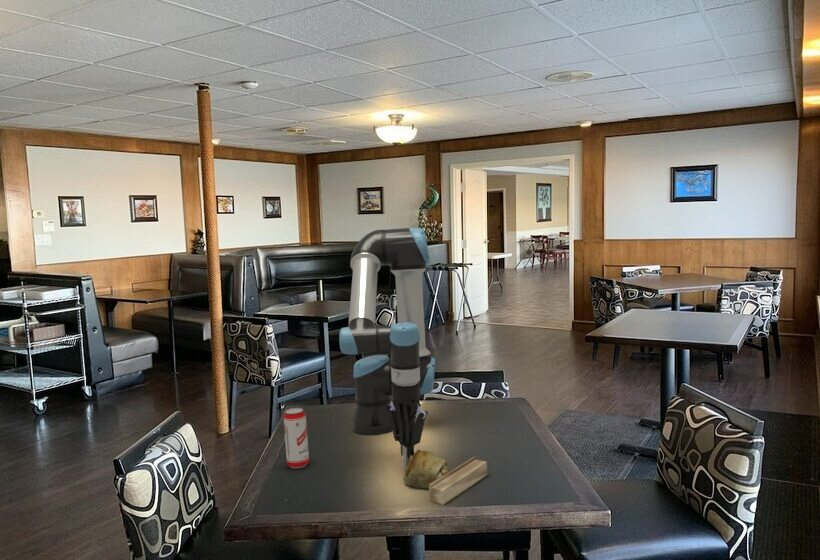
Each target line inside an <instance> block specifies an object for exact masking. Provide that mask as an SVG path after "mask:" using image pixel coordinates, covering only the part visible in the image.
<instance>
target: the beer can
mask: <svg viewBox="0 0 820 560" xmlns="http://www.w3.org/2000/svg"><path fill="white" fill-rule="evenodd" d="M283 428H284V441H285V442H284V443H285V454H286V457H285V458H286V464H287V466H288V467H290V468H291V469H295V470H296V469H297V470H298V469H303V468H305V467H307V465H308V464H309V462H310V452H309V441H308V440H309V439H308V426H307V414H306V413H305V411H304V409H303V407H291V408H287V409H285V411H284V415H283Z"/></svg>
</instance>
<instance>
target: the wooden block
mask: <svg viewBox="0 0 820 560" xmlns="http://www.w3.org/2000/svg"><path fill="white" fill-rule="evenodd" d="M486 476H488V462H487V461H484V460H480V459H476V456H473V457H471V458H469V459H468V460H466V461H465V462H463V463H461V464H460V465H458V466H456V467H455V468H453V469H452V470H450V472H448V473H447V474H445V475H444V476H442V477H440V478H439V479H437V480H436V481H434V482H432V483H431V484H429V489H428V495H429V502H432V503H435V504H439V505H442V506H444V505H446V504H447V503H448V502H449V501H450V502H451V500H453V499H454V498H455V497H457V496H459V495H460V494H461V493H463V492H465V491H466V490H467V489H469V488H470V487H472V486H473V485H475V484H476V483H477V482H479V481H481V480H482V479H483V478H485V477H486Z"/></svg>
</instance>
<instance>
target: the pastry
mask: <svg viewBox="0 0 820 560" xmlns="http://www.w3.org/2000/svg"><path fill="white" fill-rule="evenodd" d="M450 471H451V470H450V469H449V467H448V462H447V461H446V460H445V459H444V458H442V457H439V456H437V455H435V454H434V453H433V452H432V451H427V450H420V449H417V450H416V451H414V456H413V455H410V459H409V462H408V463H407V468H406V469H405V470H404V472H403V474H402V480H403V482H404V483H405V485H407V486H409V487H413V488H416V489H426V490H429V484H431V483H432V482H434V481H436V480H437V479H439V478H440V477H442V476H444V475H445V474H447V473H448V472H450Z"/></svg>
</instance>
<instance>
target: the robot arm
mask: <svg viewBox="0 0 820 560" xmlns="http://www.w3.org/2000/svg"><path fill="white" fill-rule="evenodd" d="M428 264H431V258H430V253H429V247H428V242H427V236H426V232H425V231H424V229H422V228H421V227H405V228H391V229H390V228H388V229H375V230H373V231H371V232H369V233H367V234H365V236H363V237H362V238H361V239H360V240H359V241H358V243H357V244H356V245H355V247H354V248H353V251H352V253H351V257H350V265H349V266H350V268H351V270H352V280H351V291H350V304H349V315H348V326H346V327H341V329H340V330H339V336H338V337H339V340H338V341H339V349H340V352H341V353H342V354H343V355H364V354H374V355H369V356H366V357H365V356H364V358H363V357H362V358H361V359H359V360H357V361H356V362H355V363H354V365H353V376H352V377H353V383H354V395H355V397H354V398H355V408H354V412H353V416H352V419H351V430H352V431H353V432H354V433H357V434H359V435H365V436H366V435H367V436H368V435H372V436H373V435H374V436H375V435H382V434H386V433H389V432H392V434H393V439H394V441H395V442H399V444H400V455H401V456H402V469H403V470H404V471H405V469H406V468H407V463H408V462H409V459H410V455H413V456H414V454H415V446H416V445H419V444H420V443H421V439H422V435H423V432H424V431H423V430H424V426H425V421H426V418H427V416H428V415H429V412H428V411H427V410H424V409H422V407H421V406H422V405H421V403H420V396H421V395H426V394H431V393H432V392H433V389H434V381H435V369H436V358H435V357H433V356H431V351H430V350H429V349H428V348H427V346H426V329H425V312H424V311H425V310H424V295H423V294H424V293H423V291H424V290H423V289H424V288H423V273H425V271H426V270H427V265H428ZM381 266H384V267H385V266H389V267H390V272H391V273H392V274H393V275H394V276H395V277H394V278H395V292H396V293H395V294H396V296H395V297H396V310H397V311H396V312H397V323H395V324H392V325H376V315H377V314H376V310H377V285H378V272H379V271H380V270H381ZM386 353H387V354H388V353H390V357H389V356H388V355H387V354H386Z"/></svg>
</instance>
